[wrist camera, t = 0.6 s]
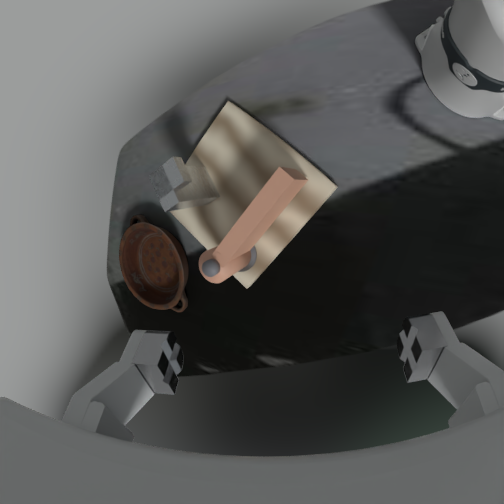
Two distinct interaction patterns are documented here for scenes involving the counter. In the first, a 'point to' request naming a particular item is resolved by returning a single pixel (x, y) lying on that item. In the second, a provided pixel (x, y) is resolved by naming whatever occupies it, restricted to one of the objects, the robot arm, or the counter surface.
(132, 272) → the dish
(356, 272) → the counter surface
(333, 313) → the counter surface
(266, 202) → the link
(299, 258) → the counter surface
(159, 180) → the block
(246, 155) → the base board
